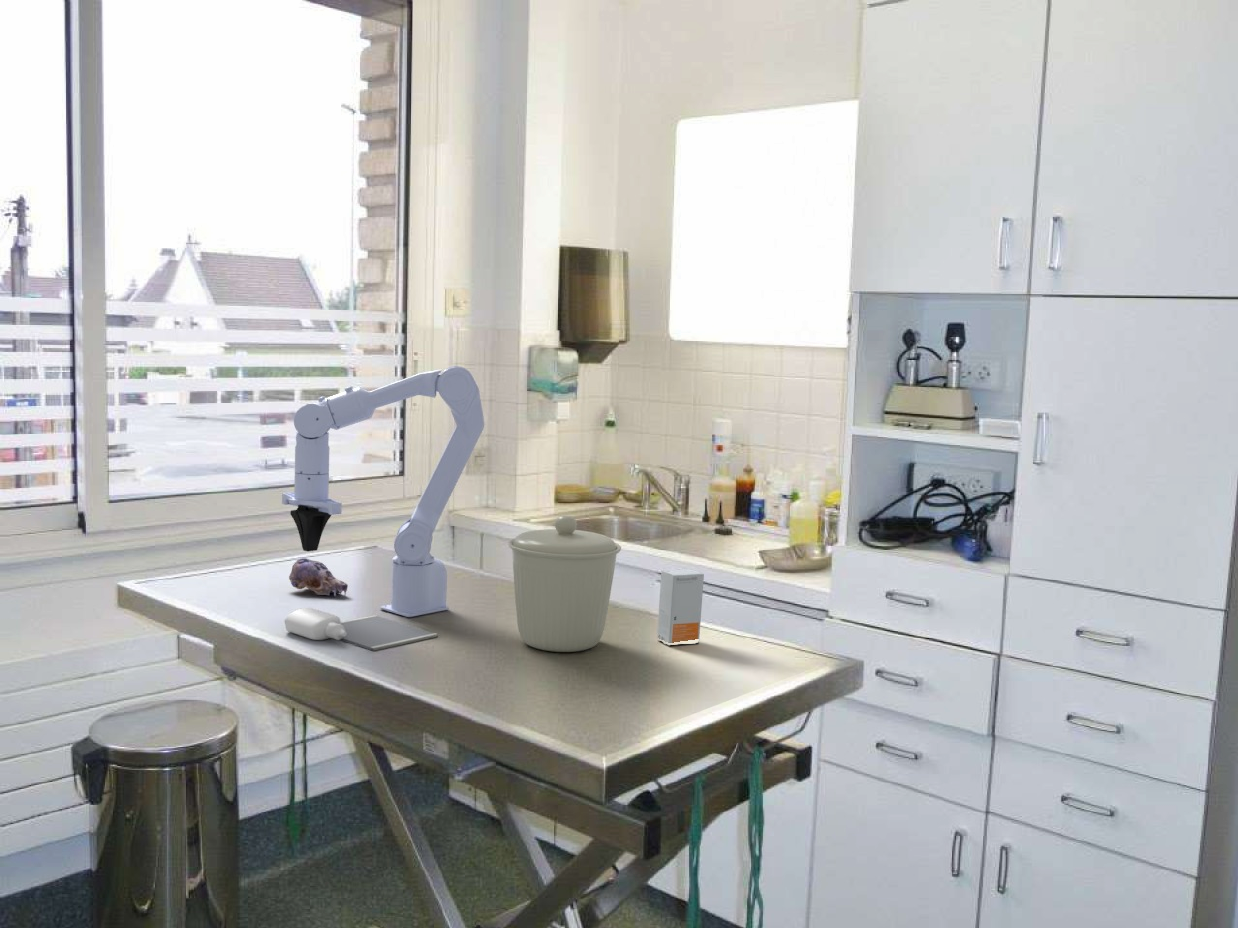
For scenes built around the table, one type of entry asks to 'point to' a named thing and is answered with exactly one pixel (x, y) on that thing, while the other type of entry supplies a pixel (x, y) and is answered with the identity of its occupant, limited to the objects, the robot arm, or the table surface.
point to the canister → (562, 585)
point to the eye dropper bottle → (314, 624)
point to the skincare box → (680, 605)
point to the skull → (315, 578)
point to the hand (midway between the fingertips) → (310, 550)
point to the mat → (381, 633)
